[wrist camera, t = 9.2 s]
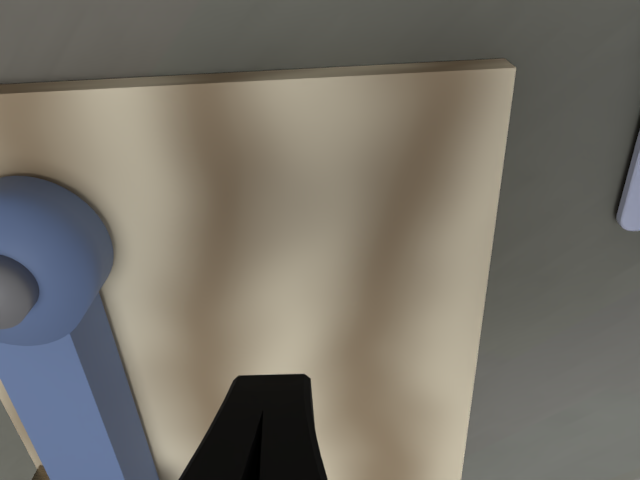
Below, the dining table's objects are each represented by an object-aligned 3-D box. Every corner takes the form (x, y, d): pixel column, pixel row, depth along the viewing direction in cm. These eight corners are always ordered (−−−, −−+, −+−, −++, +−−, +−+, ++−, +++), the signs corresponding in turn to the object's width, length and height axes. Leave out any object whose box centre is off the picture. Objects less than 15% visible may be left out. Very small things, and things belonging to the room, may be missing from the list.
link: (-62, 178, 17) (-138, 228, 14) (91, 173, 17) (45, 222, 14) (86, 504, 26) (57, 573, 23) (187, 503, 26) (170, 573, 23)
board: (504, 58, 16) (516, 67, 15) (454, 470, 26) (459, 493, 25) (-127, 91, 17) (-157, 101, 16) (63, 477, 27) (53, 499, 26)
